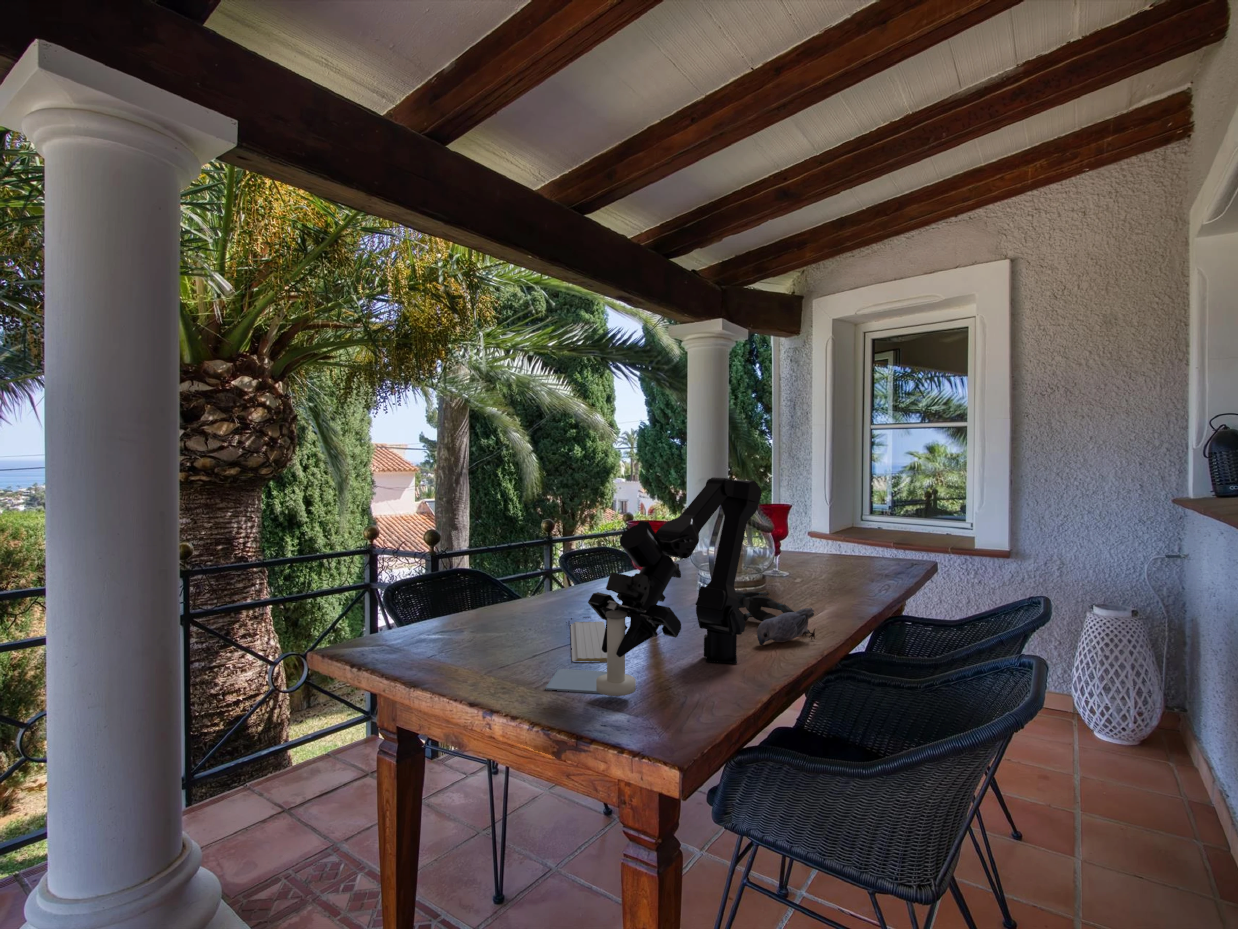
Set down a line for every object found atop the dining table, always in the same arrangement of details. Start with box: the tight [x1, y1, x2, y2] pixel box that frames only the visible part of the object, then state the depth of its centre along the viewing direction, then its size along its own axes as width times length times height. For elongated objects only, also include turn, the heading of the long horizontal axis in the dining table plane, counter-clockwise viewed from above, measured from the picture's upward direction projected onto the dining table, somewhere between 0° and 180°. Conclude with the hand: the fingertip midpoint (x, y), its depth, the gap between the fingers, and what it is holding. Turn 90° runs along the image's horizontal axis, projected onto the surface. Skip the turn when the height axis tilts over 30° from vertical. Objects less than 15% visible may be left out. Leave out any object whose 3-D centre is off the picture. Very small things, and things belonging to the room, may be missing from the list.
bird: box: [756, 607, 816, 646], centre depth 155 cm, size 5×16×8 cm, turn 118°
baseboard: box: [565, 616, 607, 663], centre depth 153 cm, size 30×3×10 cm
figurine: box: [735, 589, 815, 634], centre depth 174 cm, size 11×9×30 cm
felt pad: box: [544, 668, 607, 694], centre depth 126 cm, size 11×11×1 cm
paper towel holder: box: [596, 610, 637, 697], centre depth 117 cm, size 7×7×14 cm
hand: (610, 653), depth 116 cm, fingers closed on paper towel holder, 3 cm apart
